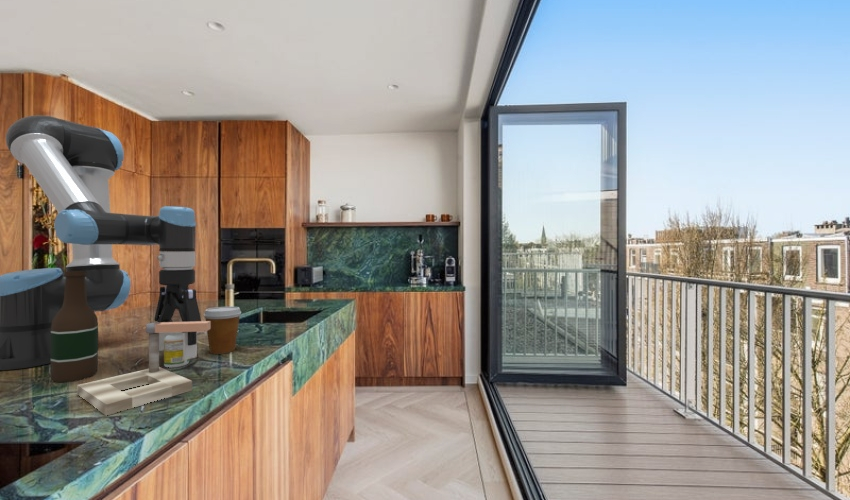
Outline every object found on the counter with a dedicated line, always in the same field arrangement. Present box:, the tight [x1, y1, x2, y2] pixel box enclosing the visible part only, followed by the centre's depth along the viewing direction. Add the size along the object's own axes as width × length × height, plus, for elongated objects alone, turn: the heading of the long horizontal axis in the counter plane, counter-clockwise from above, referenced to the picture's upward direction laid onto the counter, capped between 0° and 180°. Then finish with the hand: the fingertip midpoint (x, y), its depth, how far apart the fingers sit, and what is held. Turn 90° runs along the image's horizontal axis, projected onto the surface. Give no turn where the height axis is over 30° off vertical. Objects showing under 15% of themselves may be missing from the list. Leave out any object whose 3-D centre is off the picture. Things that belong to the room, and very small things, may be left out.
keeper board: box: [76, 333, 193, 417], centre depth 75 cm, size 16×14×10 cm
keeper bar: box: [145, 320, 211, 334], centre depth 83 cm, size 12×3×2 cm, turn 102°
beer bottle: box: [50, 270, 99, 383], centre depth 83 cm, size 8×8×24 cm
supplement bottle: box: [163, 332, 190, 369], centre depth 93 cm, size 5×5×10 cm
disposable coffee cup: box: [203, 306, 242, 355], centre depth 105 cm, size 10×10×12 cm
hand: (177, 353), depth 93 cm, fingers open, 12 cm apart
